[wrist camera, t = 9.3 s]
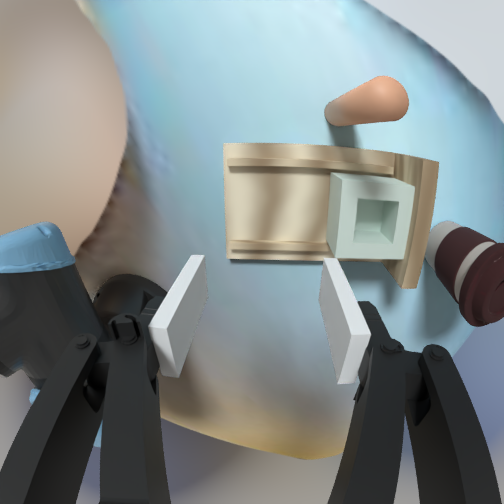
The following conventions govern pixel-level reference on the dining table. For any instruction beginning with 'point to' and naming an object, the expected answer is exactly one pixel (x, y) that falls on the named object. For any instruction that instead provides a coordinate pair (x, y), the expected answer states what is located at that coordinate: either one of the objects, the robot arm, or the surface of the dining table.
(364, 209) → the block
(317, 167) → the board
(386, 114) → the dowel
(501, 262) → the coffee cup
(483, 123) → the dining table surface
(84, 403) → the robot arm
